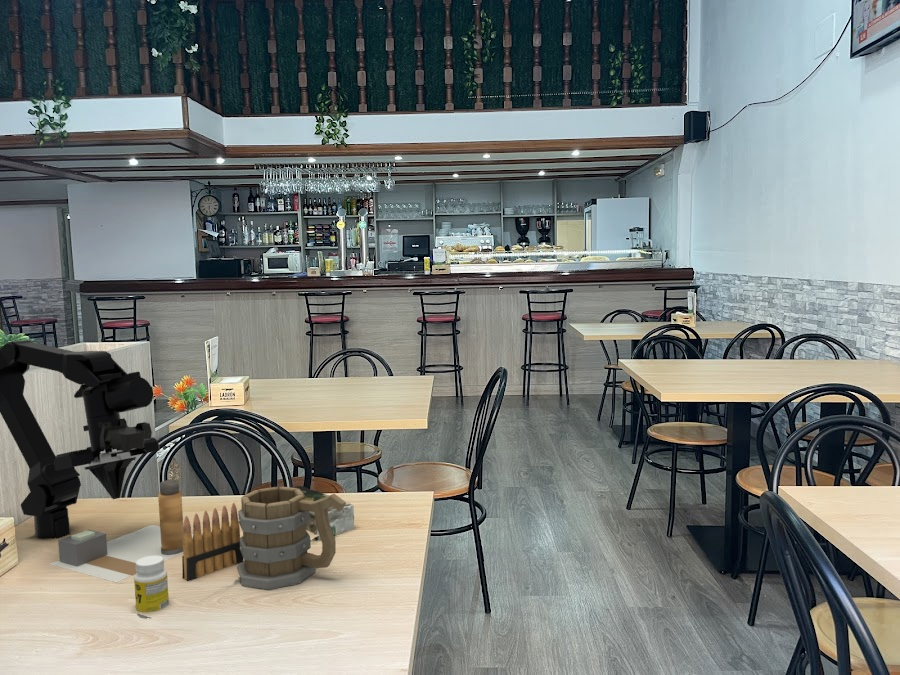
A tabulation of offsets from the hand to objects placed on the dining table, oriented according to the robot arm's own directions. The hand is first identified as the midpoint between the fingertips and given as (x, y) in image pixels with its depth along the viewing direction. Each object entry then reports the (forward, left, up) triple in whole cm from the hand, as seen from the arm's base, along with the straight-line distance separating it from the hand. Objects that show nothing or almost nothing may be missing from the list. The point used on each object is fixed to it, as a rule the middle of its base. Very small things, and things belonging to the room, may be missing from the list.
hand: (116, 498), depth 135 cm
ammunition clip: (+25, 0, -11) cm, 27 cm away
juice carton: (+23, +28, -11) cm, 38 cm away
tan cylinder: (+11, +3, -9) cm, 15 cm away
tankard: (+37, +6, -11) cm, 39 cm away
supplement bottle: (+26, -14, -11) cm, 31 cm away
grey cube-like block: (-1, -6, -9) cm, 11 cm away
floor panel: (+5, 0, -11) cm, 11 cm away
